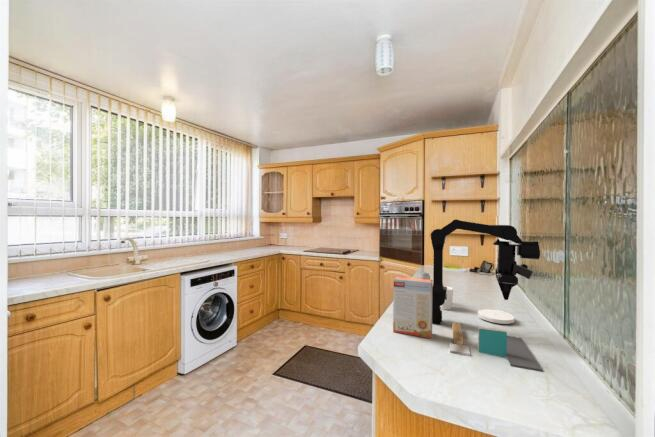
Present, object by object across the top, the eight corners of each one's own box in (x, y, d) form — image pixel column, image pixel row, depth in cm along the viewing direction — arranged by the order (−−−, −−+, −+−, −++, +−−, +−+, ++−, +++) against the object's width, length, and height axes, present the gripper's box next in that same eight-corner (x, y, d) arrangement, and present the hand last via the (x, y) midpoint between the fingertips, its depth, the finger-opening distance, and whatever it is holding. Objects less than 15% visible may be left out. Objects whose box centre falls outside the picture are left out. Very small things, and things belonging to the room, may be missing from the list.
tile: (478, 352, 96) (479, 328, 96) (478, 350, 97) (478, 326, 97) (506, 356, 93) (507, 332, 93) (505, 354, 94) (505, 330, 94)
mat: (510, 365, 87) (510, 364, 87) (496, 335, 109) (496, 334, 109) (542, 371, 84) (542, 369, 84) (520, 339, 107) (521, 337, 107)
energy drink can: (419, 298, 157) (419, 271, 157) (430, 300, 154) (431, 272, 154) (416, 301, 152) (417, 273, 152) (428, 303, 149) (429, 274, 149)
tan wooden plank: (449, 352, 95) (450, 343, 95) (447, 328, 116) (447, 321, 116) (470, 356, 93) (470, 347, 93) (464, 331, 114) (464, 323, 114)
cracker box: (432, 333, 111) (433, 279, 111) (430, 339, 105) (431, 282, 105) (395, 326, 117) (396, 275, 117) (392, 332, 111) (393, 278, 111)
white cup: (445, 311, 137) (445, 290, 137) (432, 306, 144) (432, 286, 144) (456, 309, 140) (456, 288, 140) (443, 304, 147) (443, 285, 147)
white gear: (478, 312, 137) (478, 307, 137) (513, 318, 129) (513, 312, 129) (476, 321, 125) (476, 316, 125) (515, 328, 117) (515, 322, 117)
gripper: (536, 262, 100) (534, 307, 100) (527, 256, 117) (525, 294, 117) (499, 259, 105) (497, 301, 106) (495, 253, 122) (494, 290, 122)
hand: (504, 296), depth 112 cm, fingers open, 9 cm apart
